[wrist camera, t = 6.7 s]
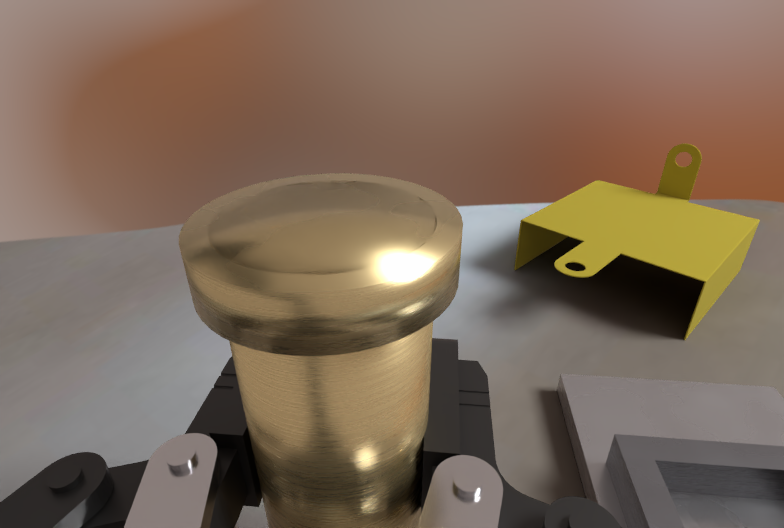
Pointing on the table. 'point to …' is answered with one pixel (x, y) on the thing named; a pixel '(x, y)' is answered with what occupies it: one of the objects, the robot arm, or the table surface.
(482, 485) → the robot arm
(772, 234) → the table surface
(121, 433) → the table surface
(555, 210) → the bracket
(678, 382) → the grey socket base plate
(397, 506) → the hinge pin
